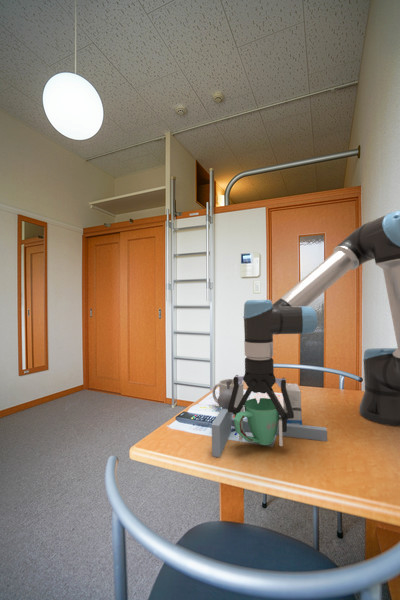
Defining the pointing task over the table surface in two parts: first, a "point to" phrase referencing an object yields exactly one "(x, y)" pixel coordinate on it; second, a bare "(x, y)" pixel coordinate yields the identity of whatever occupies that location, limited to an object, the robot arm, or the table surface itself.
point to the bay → (225, 421)
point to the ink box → (294, 403)
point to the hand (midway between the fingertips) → (260, 440)
